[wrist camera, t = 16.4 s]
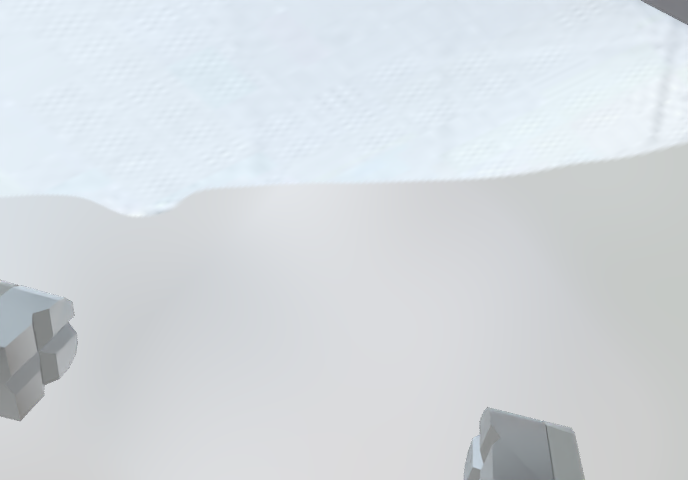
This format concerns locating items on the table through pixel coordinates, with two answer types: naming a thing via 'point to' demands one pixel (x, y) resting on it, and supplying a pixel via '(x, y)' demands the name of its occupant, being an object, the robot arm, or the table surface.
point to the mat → (672, 8)
